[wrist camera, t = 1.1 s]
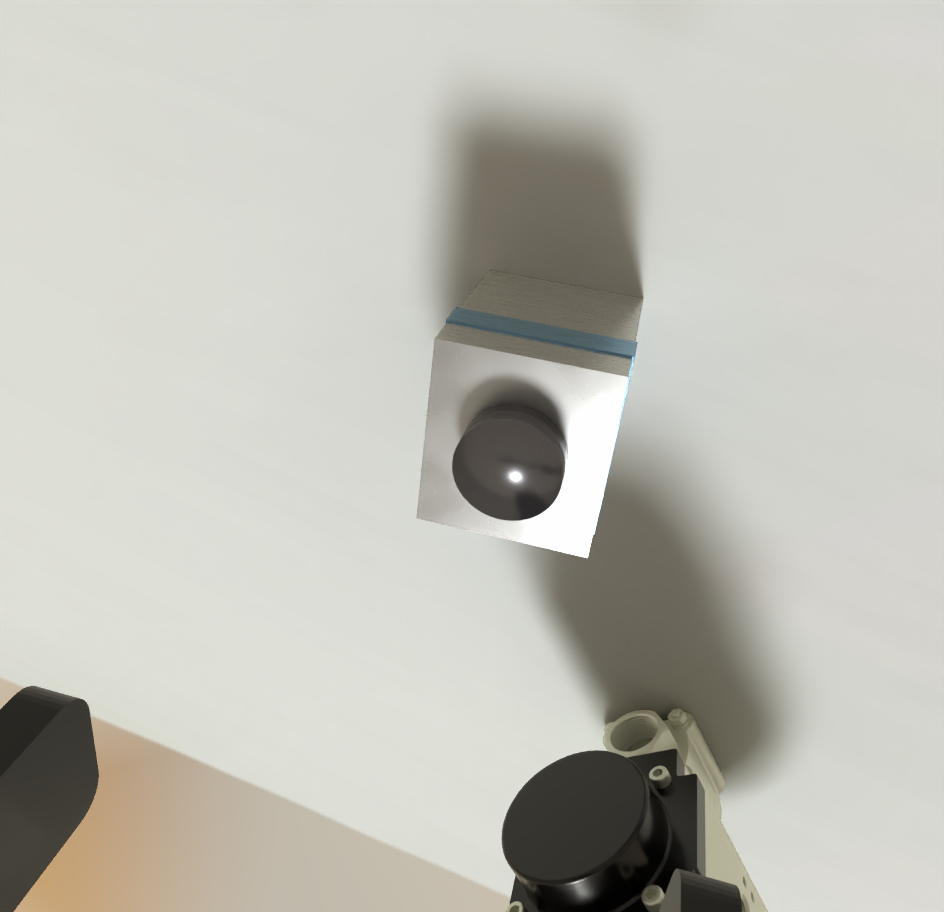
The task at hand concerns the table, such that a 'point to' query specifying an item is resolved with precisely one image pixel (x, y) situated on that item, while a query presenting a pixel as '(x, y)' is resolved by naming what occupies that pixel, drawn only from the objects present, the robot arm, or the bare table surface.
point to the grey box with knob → (527, 410)
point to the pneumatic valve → (622, 822)
